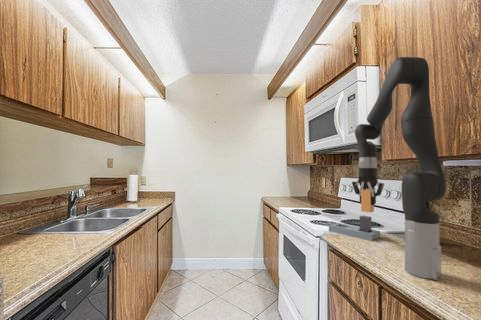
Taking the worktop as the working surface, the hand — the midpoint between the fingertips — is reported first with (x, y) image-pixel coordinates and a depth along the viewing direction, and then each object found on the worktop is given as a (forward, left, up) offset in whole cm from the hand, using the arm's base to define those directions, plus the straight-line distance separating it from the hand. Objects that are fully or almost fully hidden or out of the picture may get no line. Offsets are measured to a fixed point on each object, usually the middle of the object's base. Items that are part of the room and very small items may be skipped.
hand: (367, 204), depth 113 cm
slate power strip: (+11, -10, -18) cm, 23 cm away
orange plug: (0, 0, -3) cm, 3 cm away
